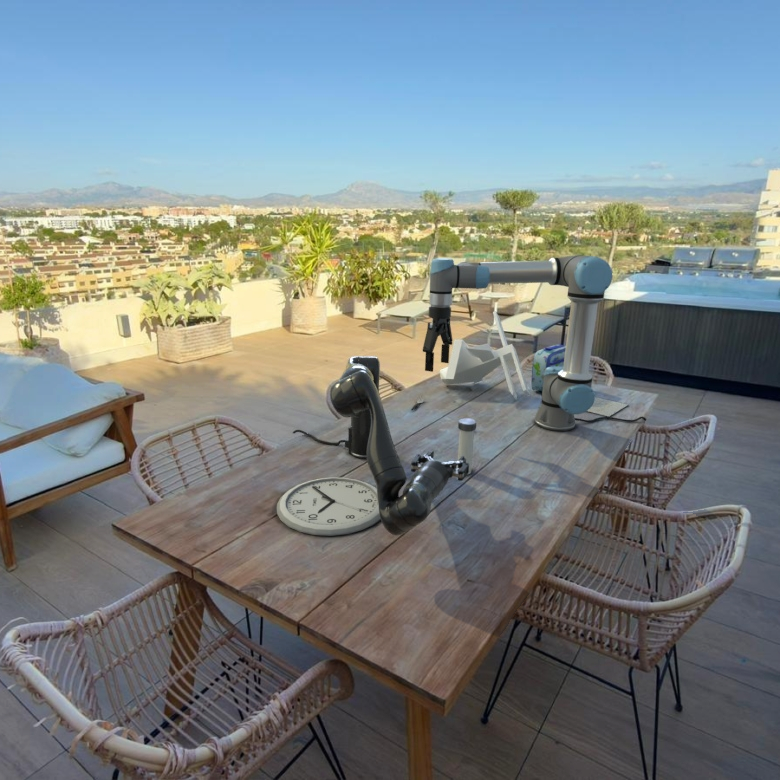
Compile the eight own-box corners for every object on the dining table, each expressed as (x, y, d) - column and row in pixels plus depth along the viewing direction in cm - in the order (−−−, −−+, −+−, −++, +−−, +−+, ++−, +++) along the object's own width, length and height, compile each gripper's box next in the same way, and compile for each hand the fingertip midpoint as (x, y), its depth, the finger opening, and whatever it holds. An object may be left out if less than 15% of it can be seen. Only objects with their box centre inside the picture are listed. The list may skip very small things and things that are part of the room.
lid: (465, 423, 163) (465, 416, 163) (479, 428, 160) (479, 421, 159) (454, 428, 160) (455, 421, 159) (469, 432, 156) (469, 425, 155)
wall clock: (392, 527, 129) (268, 531, 127) (391, 533, 130) (269, 537, 127) (383, 473, 158) (282, 475, 155) (383, 478, 158) (282, 480, 156)
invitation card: (608, 416, 214) (573, 407, 224) (608, 416, 214) (573, 408, 224) (628, 404, 229) (594, 396, 238) (628, 405, 229) (594, 397, 238)
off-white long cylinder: (462, 467, 167) (465, 419, 162) (474, 471, 164) (477, 422, 159) (454, 471, 164) (457, 422, 159) (465, 476, 161) (468, 426, 156)
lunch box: (547, 397, 237) (552, 352, 231) (526, 391, 245) (531, 348, 238) (574, 386, 255) (580, 344, 249) (554, 381, 262) (559, 340, 256)
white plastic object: (461, 429, 252) (437, 405, 227) (444, 352, 274) (420, 323, 250) (535, 404, 240) (518, 377, 215) (510, 326, 262) (492, 293, 237)
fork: (408, 410, 217) (408, 406, 216) (419, 399, 231) (419, 395, 230) (414, 411, 216) (414, 407, 215) (425, 400, 230) (425, 396, 230)
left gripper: (458, 472, 123) (474, 447, 137) (401, 462, 128) (422, 439, 142) (456, 501, 125) (472, 473, 139) (400, 489, 130) (422, 464, 144)
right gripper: (444, 300, 188) (441, 358, 195) (413, 309, 167) (411, 373, 174) (463, 302, 185) (460, 360, 191) (435, 311, 164) (432, 376, 170)
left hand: (447, 456), depth 141 cm, fingers open, 8 cm apart
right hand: (437, 366), depth 183 cm, fingers open, 13 cm apart
